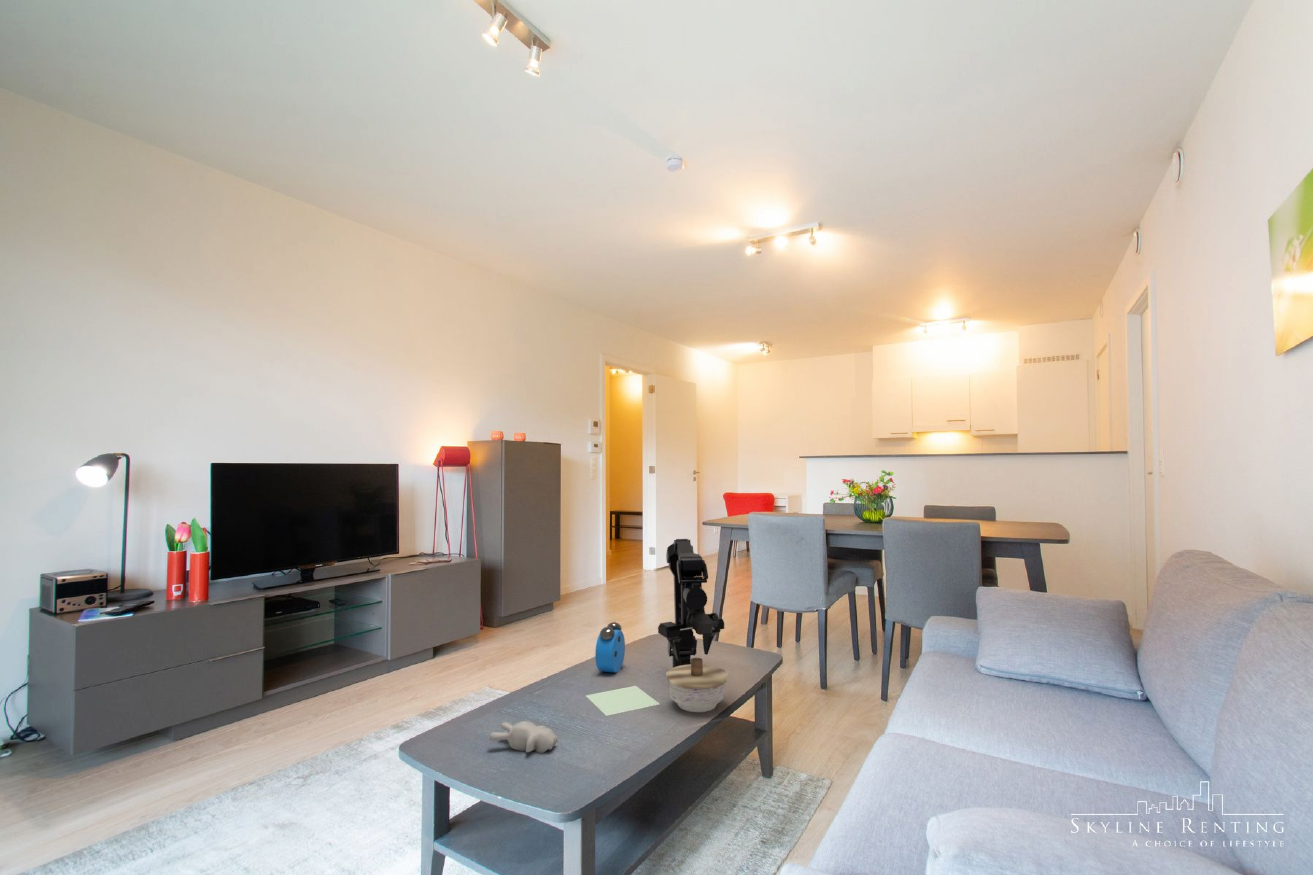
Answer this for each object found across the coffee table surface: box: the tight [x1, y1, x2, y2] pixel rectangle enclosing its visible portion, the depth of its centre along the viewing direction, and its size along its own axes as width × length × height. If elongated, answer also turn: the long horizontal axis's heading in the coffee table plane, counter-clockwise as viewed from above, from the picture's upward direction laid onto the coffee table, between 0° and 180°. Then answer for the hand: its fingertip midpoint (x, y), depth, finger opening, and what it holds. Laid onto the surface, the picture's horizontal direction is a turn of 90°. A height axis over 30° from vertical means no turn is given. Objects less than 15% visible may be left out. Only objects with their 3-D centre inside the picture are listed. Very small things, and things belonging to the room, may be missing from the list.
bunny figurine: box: [489, 720, 559, 754], centre depth 142 cm, size 10×5×15 cm
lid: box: [665, 657, 729, 689], centre depth 165 cm, size 17×17×5 cm
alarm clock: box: [594, 621, 626, 674], centre depth 194 cm, size 13×6×15 cm, turn 165°
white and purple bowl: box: [669, 683, 726, 713], centre depth 165 cm, size 15×15×8 cm
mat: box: [585, 685, 661, 717], centre depth 168 cm, size 16×16×1 cm
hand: (692, 656), depth 168 cm, fingers open, 9 cm apart
